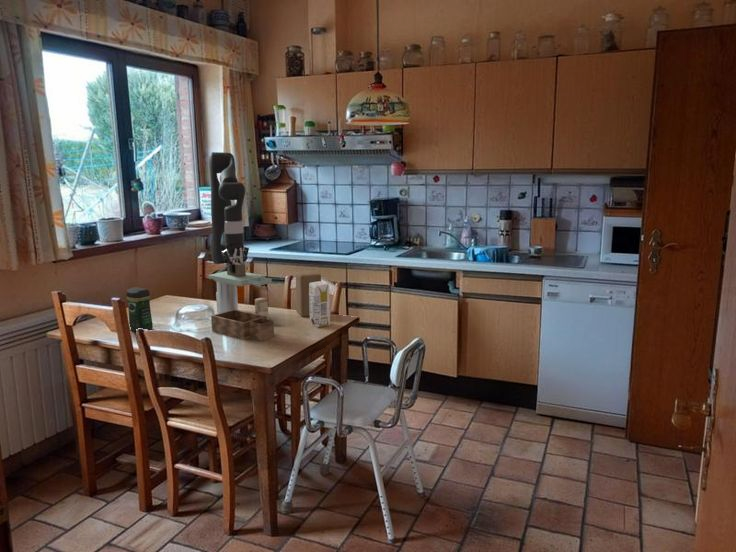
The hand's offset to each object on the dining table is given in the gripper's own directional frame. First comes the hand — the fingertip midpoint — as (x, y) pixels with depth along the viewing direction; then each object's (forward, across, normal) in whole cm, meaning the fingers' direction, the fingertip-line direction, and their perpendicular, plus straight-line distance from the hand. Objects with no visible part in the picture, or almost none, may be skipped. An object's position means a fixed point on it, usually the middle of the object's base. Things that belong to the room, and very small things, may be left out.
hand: (236, 272), depth 238 cm
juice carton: (+26, -27, +22) cm, 44 cm away
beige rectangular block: (+26, -15, -2) cm, 30 cm away
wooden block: (+26, -38, +6) cm, 47 cm away
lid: (+4, 0, +4) cm, 5 cm away
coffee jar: (+26, +22, -38) cm, 51 cm away
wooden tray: (+26, 0, +4) cm, 26 cm away
